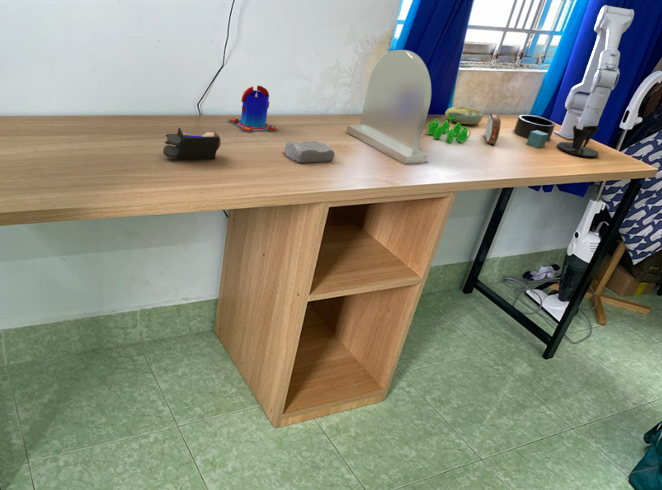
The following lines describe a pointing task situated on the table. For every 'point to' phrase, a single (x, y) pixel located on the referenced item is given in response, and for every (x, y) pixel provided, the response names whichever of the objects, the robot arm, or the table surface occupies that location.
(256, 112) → the fantasy tower
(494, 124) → the tin
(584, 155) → the lid
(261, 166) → the table surface
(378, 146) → the award
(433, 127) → the green bumpy cluster
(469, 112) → the cell model
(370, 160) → the table surface
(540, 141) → the block
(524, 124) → the black round container
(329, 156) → the stone block
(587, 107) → the robot arm
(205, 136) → the character figurine
